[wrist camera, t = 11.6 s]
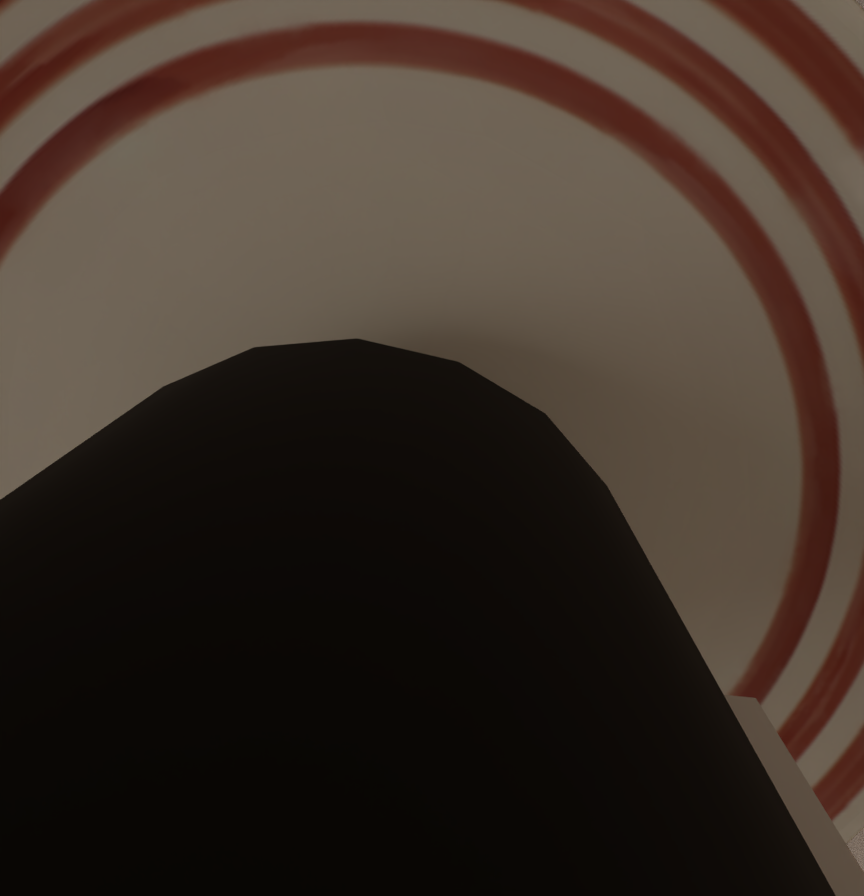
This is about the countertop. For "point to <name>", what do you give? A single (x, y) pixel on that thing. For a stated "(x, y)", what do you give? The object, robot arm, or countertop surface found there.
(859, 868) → the robot arm
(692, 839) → the coffee jar
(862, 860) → the countertop surface
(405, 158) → the dinner plate
